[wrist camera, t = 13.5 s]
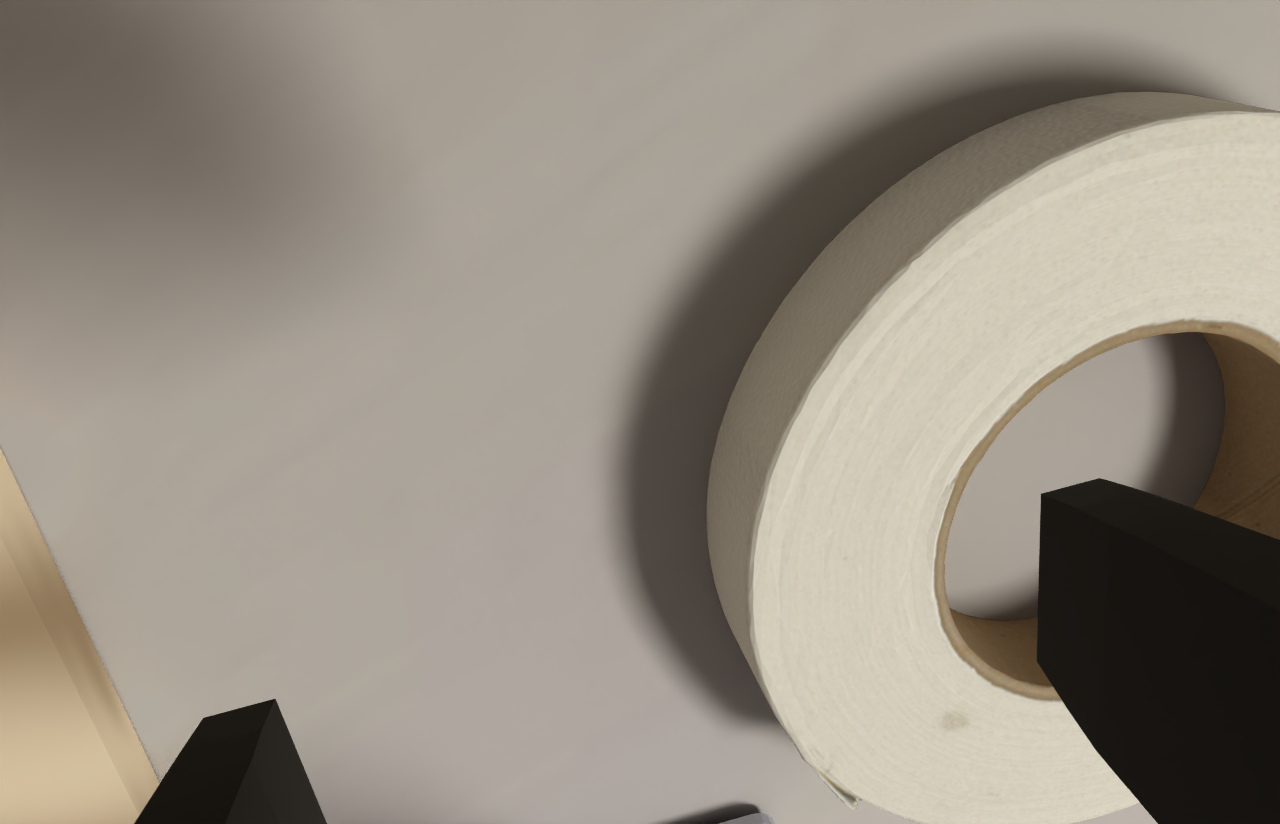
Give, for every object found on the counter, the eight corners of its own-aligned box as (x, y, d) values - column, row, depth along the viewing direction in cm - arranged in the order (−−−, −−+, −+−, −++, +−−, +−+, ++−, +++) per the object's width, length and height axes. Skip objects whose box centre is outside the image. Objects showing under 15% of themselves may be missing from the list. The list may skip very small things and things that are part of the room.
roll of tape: (985, -79, 17) (1091, -79, 14) (1498, 285, 23) (1637, 330, 20) (570, 653, 21) (596, 751, 19) (1089, 802, 27) (1161, 893, 25)
